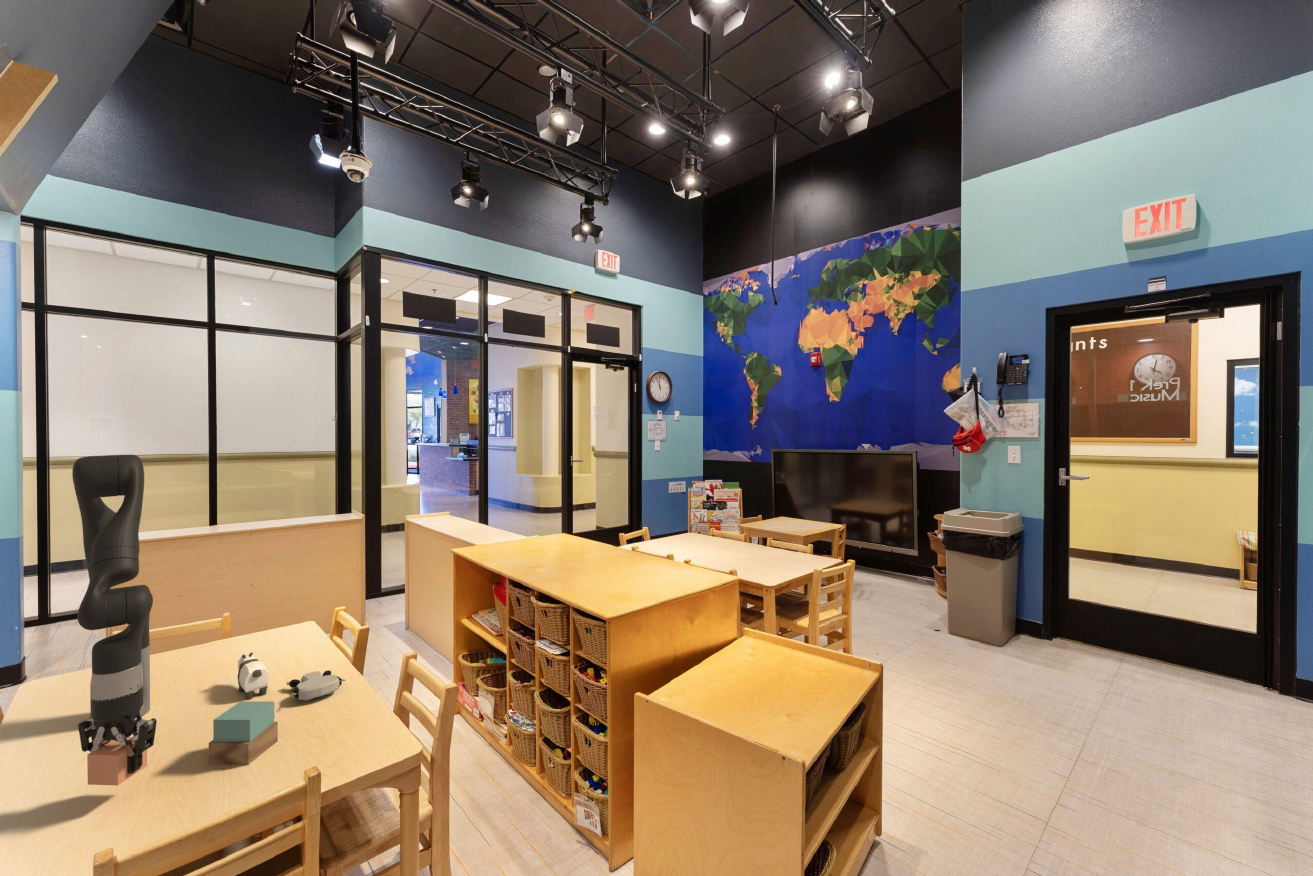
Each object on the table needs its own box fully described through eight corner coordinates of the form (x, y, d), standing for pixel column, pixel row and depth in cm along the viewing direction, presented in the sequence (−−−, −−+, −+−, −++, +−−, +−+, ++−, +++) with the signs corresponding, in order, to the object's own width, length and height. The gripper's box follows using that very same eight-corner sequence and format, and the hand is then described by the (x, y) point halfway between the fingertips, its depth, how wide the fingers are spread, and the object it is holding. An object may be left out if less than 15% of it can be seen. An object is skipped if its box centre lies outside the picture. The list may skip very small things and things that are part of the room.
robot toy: (283, 693, 153) (295, 709, 143) (283, 677, 154) (294, 692, 143) (332, 679, 162) (346, 694, 151) (332, 664, 162) (346, 677, 151)
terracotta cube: (87, 784, 106) (87, 754, 106) (118, 765, 112) (118, 736, 112) (117, 785, 106) (117, 755, 105) (147, 765, 112) (146, 737, 111)
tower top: (213, 742, 120) (213, 719, 120) (240, 722, 128) (240, 701, 128) (250, 741, 120) (249, 719, 120) (274, 722, 128) (274, 701, 128)
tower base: (208, 765, 120) (208, 743, 120) (240, 741, 129) (240, 720, 129) (248, 766, 120) (248, 744, 120) (277, 742, 129) (277, 721, 129)
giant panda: (270, 695, 150) (270, 661, 150) (245, 702, 146) (245, 667, 146) (255, 678, 160) (255, 646, 160) (232, 685, 156) (231, 652, 155)
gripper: (61, 697, 104) (62, 782, 105) (134, 699, 104) (135, 784, 105) (101, 678, 112) (102, 757, 113) (169, 681, 112) (170, 760, 112)
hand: (118, 770), depth 109 cm, fingers closed on terracotta cube, 6 cm apart
